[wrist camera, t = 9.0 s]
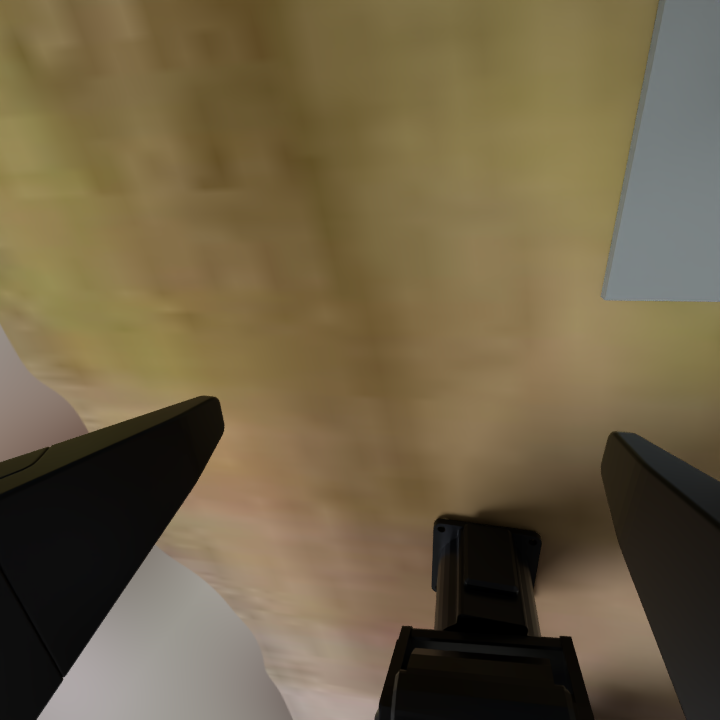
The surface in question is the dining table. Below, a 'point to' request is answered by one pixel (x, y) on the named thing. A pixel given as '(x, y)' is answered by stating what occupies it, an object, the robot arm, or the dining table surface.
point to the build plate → (673, 166)
